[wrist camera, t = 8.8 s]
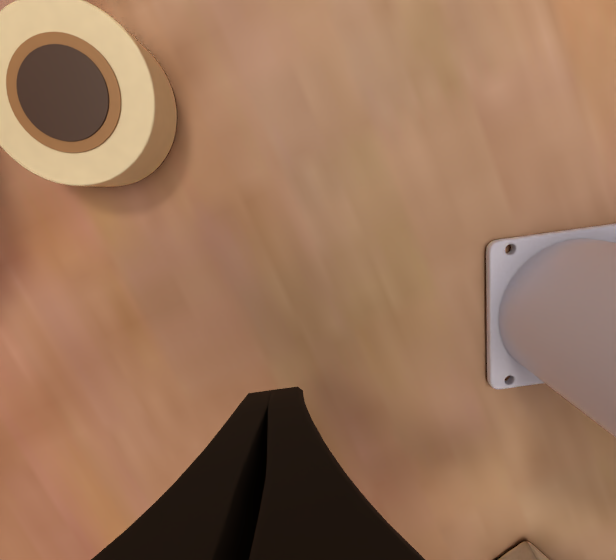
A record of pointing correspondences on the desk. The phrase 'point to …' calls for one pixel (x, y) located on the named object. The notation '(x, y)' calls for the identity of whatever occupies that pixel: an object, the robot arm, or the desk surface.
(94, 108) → the tape roll
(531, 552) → the box
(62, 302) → the desk surface
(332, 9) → the desk surface
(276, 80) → the desk surface
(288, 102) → the desk surface
